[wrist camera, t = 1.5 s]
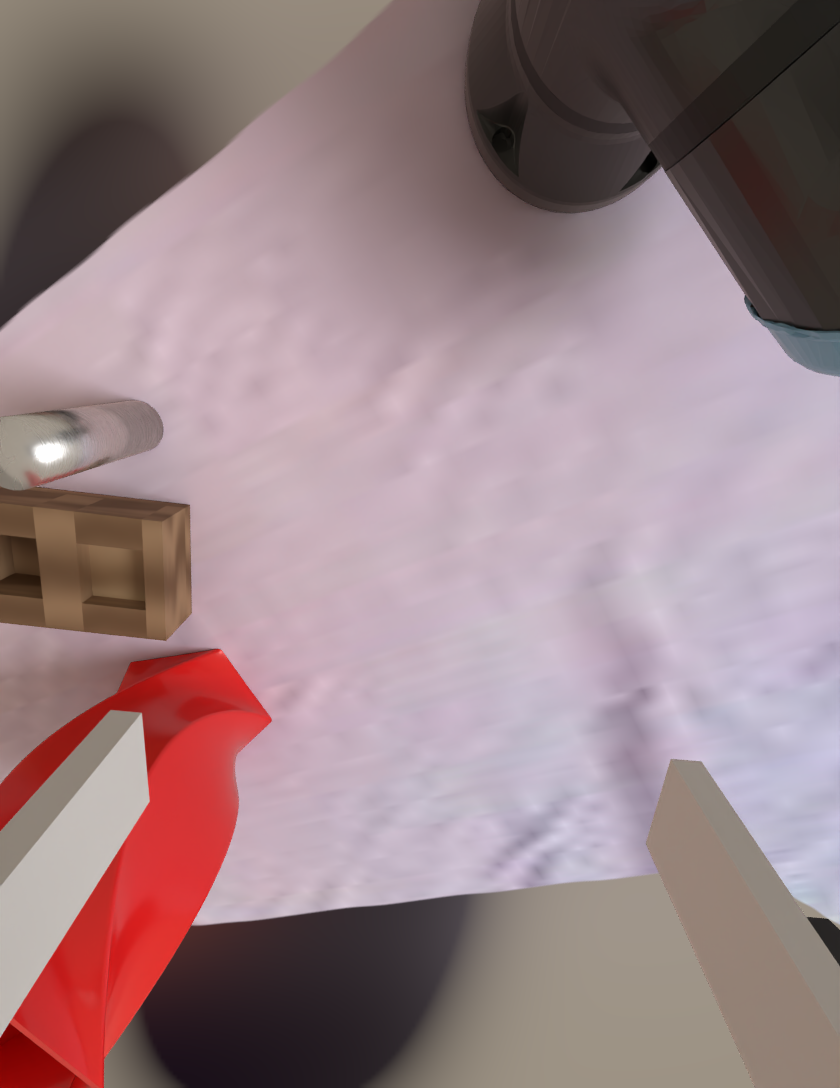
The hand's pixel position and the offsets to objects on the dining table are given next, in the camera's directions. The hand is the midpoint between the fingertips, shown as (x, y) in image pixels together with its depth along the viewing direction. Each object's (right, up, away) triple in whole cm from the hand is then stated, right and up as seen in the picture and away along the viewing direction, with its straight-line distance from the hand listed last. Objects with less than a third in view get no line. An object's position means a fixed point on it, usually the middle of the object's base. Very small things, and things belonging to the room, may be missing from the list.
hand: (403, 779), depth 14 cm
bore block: (-27, +5, +33) cm, 43 cm away
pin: (-22, +15, +29) cm, 40 cm away
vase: (-21, -9, +38) cm, 44 cm away
